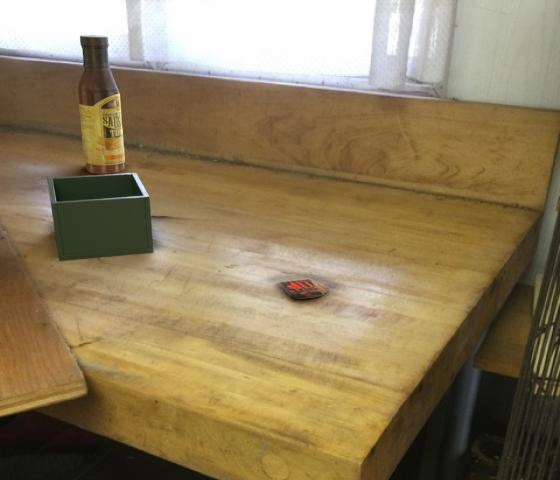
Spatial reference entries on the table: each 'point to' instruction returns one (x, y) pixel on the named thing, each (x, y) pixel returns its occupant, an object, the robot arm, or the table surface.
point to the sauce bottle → (100, 109)
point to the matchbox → (303, 288)
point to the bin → (100, 215)
